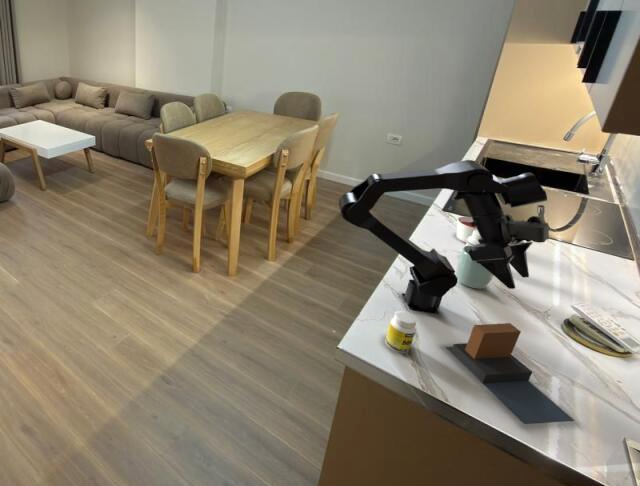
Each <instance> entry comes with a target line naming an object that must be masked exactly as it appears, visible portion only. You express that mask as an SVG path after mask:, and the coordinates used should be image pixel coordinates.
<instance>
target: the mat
mask: <svg viewBox="0 0 640 486" xmlns="http://www.w3.org/2000/svg"><path fill="white" fill-rule="evenodd" d="M452 347H453V346H445V348H446V349H447V350H448V352H450V353H451V350H452ZM466 369H467V370H468V372H470V373H471V374H472V375H473V376H474V377H475V378H476V379H477V380H478V381H479V382H480V383H481V384H482V385H483V386H484V387H485V388H486V389H487V390H488V391H489V392H491V394H493V396H495V398H497V399H498V401H500V403H502V404H503V405H504V407H506V408H507V409H508V410H509V411H510V412H511V413H512V414H513V415H514V416H515V417H516V418H517V419H518V420H519V421H520V422H521V423H522V424H523V425H531V424H532V425H533V424H547V423H560V422H574V421H575V419H574V418H572V417H571V416H570V415H569V414H568V413H567V412H566V411H564V410H563V409H562V408H561V407H560V406H558V404H556V403H555V402H554V401H553V400H552V399H551V398H549V397H548V396H547V395H546V394H544V392H542V391H541V390H540V389H539V388H538V387H537V386H536V385H534V384H533V383H532V382H531V381H530V380H528V381H513V382H496V383H482V382H481V381H480V380H479V379H478V378H477V377H476V376H475V375H474V374H473V373H472V372H471V371H470V370H469V369H468V368H466Z"/></svg>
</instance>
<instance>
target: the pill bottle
mask: <svg viewBox="0 0 640 486" xmlns="http://www.w3.org/2000/svg"><path fill="white" fill-rule="evenodd" d="M479 239H481V237H480V235H479V232H478V230H475V231H474V232H473V234H472V236H470V237H469V238H468V240H467V243H466V242H465V246H475V245H477V244H480V243H479V241H478V240H479Z"/></svg>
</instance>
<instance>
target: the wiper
mask: <svg viewBox="0 0 640 486" xmlns="http://www.w3.org/2000/svg"><path fill="white" fill-rule="evenodd" d="M521 332H522V331H521V330H520V329H518V328H517V327H516V326H514V325H513V324H512V323H510V322H505V323H487V324H474V325H473V328H472V331H471V333H470V335H469V338H468V340H467V342H466V343H465V342H464V343H453V344H452V346H451V347H452V350H451V352H450V353H451V355H452V356H453V357H454V358H456V359H457V361H459V362H460V363H461V364H462V365H463V366H464V367H465V368H466V369H467V368H468V369H469V370H470V371H471V372H472V373H473V374H474V375H475V376H476V377H477V378H478V379H479V380H480V381H481V382H482V383H496V382H513V381H530V378H531V377H532V374H533V371H532V370H531V369H529V367H527V366H526V364H524V363H523V362H521V360H519V359H517V358H516V357H515V355H513V354H512V353H513V351H514V349H515V347H516V344H517V342H518V339H519V338H520V335H521ZM468 369H467V370H468ZM469 370H468V371H469ZM470 371H469V372H470ZM471 372H470V373H471ZM472 373H471V374H472ZM473 374H472V375H473ZM474 375H473V376H474ZM475 376H474V377H475ZM476 377H475V378H476ZM477 378H476V379H477ZM478 379H477V380H478ZM479 380H478V381H479ZM480 381H479V382H480ZM481 382H480V383H481ZM482 383H481V384H482Z"/></svg>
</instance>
